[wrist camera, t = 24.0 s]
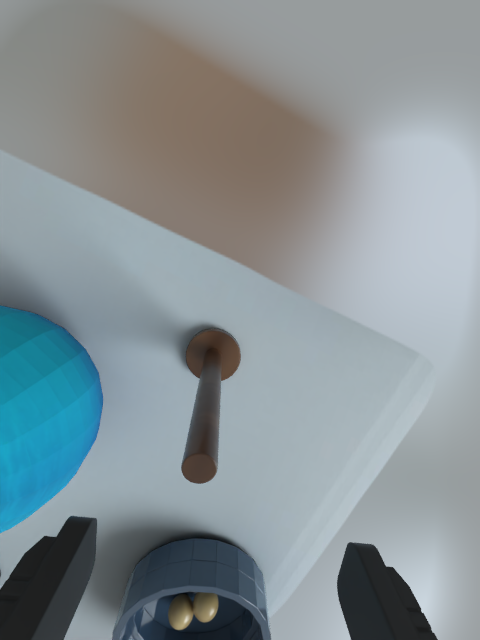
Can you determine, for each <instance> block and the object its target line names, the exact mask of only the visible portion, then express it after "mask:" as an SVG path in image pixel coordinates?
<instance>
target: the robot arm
mask: <svg viewBox="0 0 480 640" xmlns="http://www.w3.org/2000/svg"><path fill="white" fill-rule="evenodd" d="M96 533H97V519H96V518H88V517H77V516H71V517H69V518H68V519H67V521H66V522H65V524H64V526H63V527H62V529H61V530H60V532H59V534H58V535H57V537H48V536H44V537H43V538H42V539H41V540H40V541H38V542H37V543H36V544H35V545H34V546H33V547H32V548H31V549H29V550H28V551H27V552H26V553H25V554H24V555H23V557H22V558H21V560H20V561H19V563H18V564H17V566H16V567H15V569H14V570H13V572H12V573H11V575H10V577H9V579H8V580H6V582H5V583H4V585H3V586H2V588H1V589H0V640H64V637H65V635H66V633H67V630H68V628H69V626H70V623H71V621H72V619H73V616H74V614H75V612H76V609H77V607H78V605H79V602H80V600H81V598H82V595H83V593H84V591H85V589H86V586H87V584H88V581H89V579H90V576H91V573H92V569H93V566H94V561H95V554H96ZM337 589H338V597H339V601H340V604H341V608H342V611H343V615H344V618H345V621H346V624H347V628H348V630H349V634H350V637H351V640H438V639H437V638H436V636H435V634H434V633H432V630H431V627H430V625H429V623H428V621H427V619H426V617H425V615H424V613H422V612H421V608H420V606H419V604H418V602H417V600H416V598H415V597H414V595H413V593H412V591H411V589H410V587H409V586H408V584H407V583H406V582H405V581H404V580H403V579H402V577H401V576H400V575H399V574H398V573H397V572H396V571H395V569H394V568H393V567H386V566H385V564H384V562H383V560H382V558H381V556H380V554H379V552H378V550H377V548H376V547H375V546H374V545H371V544H362V543H351V542H350V543H348V545H347V548H346V551H345V554H344V558H343V561H342V565H341V568H340V572H339V575H338V580H337Z"/></svg>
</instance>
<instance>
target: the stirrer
mask: <svg viewBox="0 0 480 640" xmlns="http://www.w3.org/2000/svg"><path fill="white" fill-rule="evenodd" d="M240 359H241V354H240V348H239V345H238V343H237V341H236V340H235V338H234V337H233V336H232V335H231V334H229V333H228V332H226V331H223V330H220V329H207V330H203V331H201V332H199V333H198V334H196V335H195V336H194V337H193V338H192V340H191V341H190V343H189V345H188V348H187V351H186V362H187V365H188V367H189V369H190V370H191V372H192V373H193V374H194V375H195V376H196V377H198V378H200V380H199V385H198V390H197V394H196V399H195V404H194V409H193V414H192V418H191V423H190V428H189V433H188V437H187V442H186V447H185V452H184V456H183V461H182V466H181V470H182V473H183V475H184V477H185V478H186V479H187V480H189V481H190V482H193V483H198V484H201V483H206V482H208V481H210V480H211V479H212V478H213V477H214V476H215V475H216V473H217V466H218V442H219V419H220V395H221V381H223V380H225V379H227V378H229V377H230V376H232V375H233V374H234V373H235V371H236V370H237V368H238V366H239V363H240Z"/></svg>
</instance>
